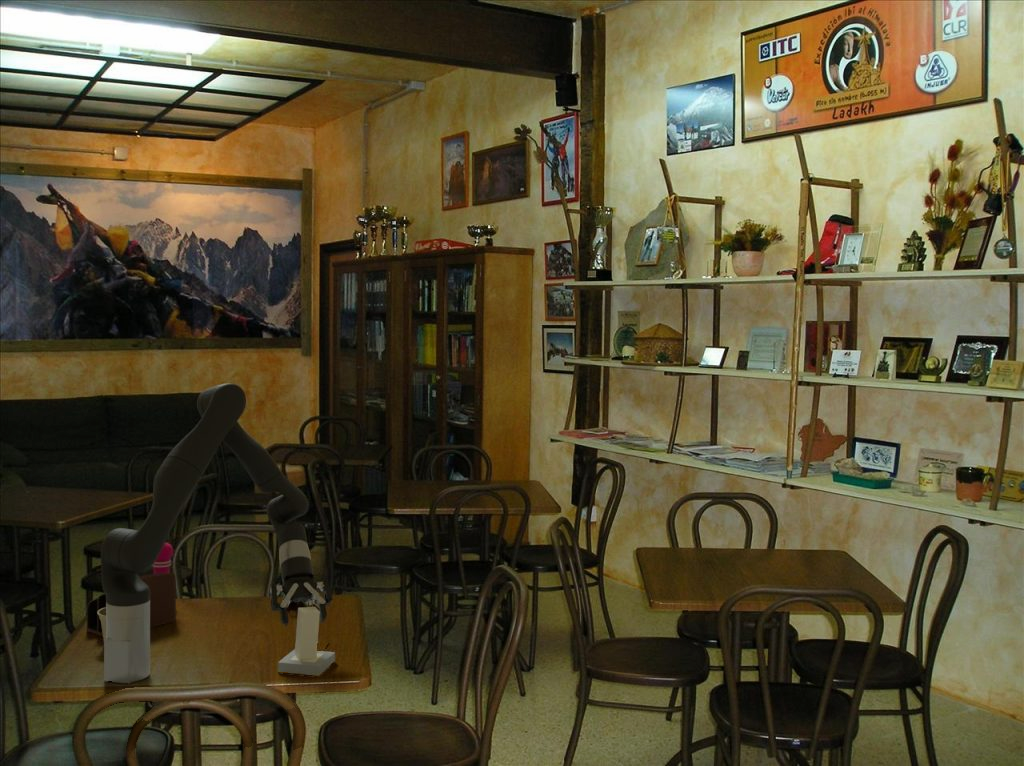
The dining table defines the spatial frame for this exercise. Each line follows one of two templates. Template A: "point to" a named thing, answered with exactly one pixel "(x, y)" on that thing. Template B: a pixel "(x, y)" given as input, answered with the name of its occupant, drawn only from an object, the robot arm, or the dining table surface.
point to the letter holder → (159, 602)
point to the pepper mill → (163, 559)
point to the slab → (306, 663)
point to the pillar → (307, 633)
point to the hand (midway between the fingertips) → (304, 622)
